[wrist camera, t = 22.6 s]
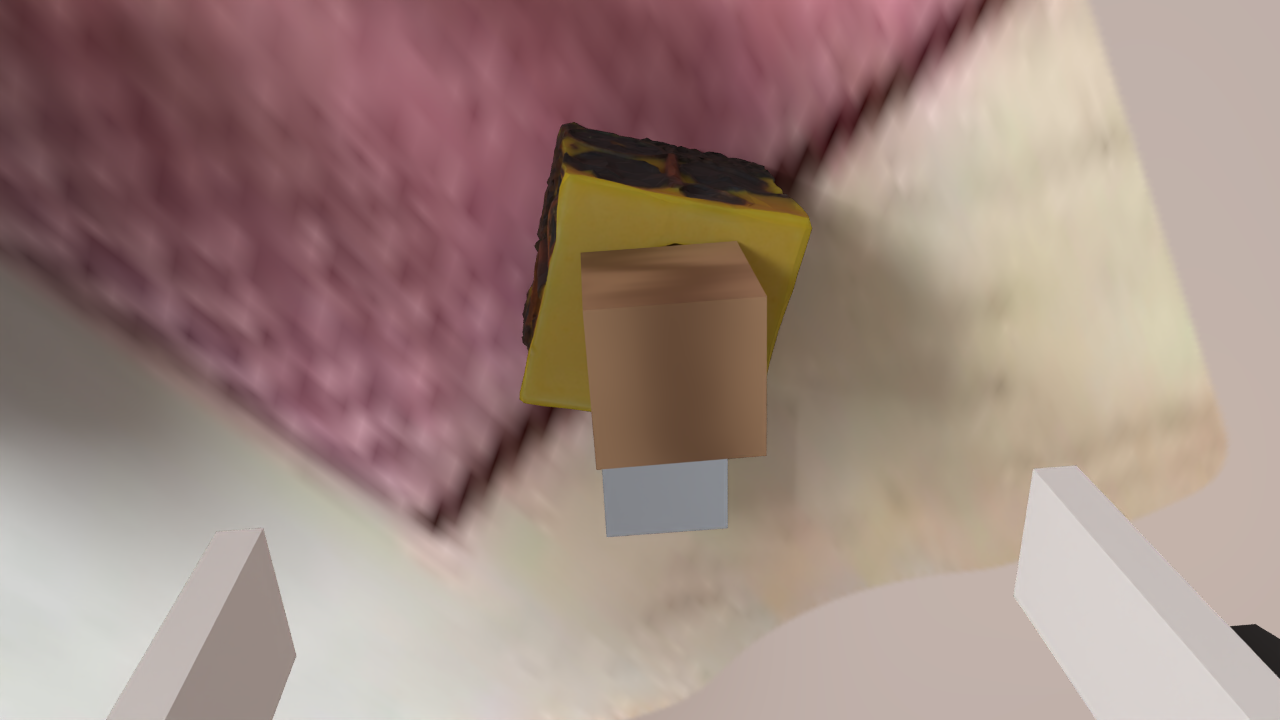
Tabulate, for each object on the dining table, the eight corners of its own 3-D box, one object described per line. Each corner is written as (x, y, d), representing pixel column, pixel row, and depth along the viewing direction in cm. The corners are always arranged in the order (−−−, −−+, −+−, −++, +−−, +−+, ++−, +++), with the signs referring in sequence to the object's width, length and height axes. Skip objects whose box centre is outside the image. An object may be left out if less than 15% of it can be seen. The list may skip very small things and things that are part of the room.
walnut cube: (592, 392, 38) (596, 469, 32) (580, 252, 35) (582, 310, 30) (738, 381, 38) (766, 455, 33) (736, 240, 36) (767, 296, 30)
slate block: (602, 472, 51) (606, 537, 46) (596, 374, 49) (599, 430, 43) (710, 465, 51) (727, 528, 46) (710, 367, 49) (727, 421, 43)
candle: (521, 316, 47) (510, 408, 38) (556, 117, 43) (553, 166, 34) (715, 349, 49) (749, 445, 39) (767, 160, 45) (817, 218, 35)
